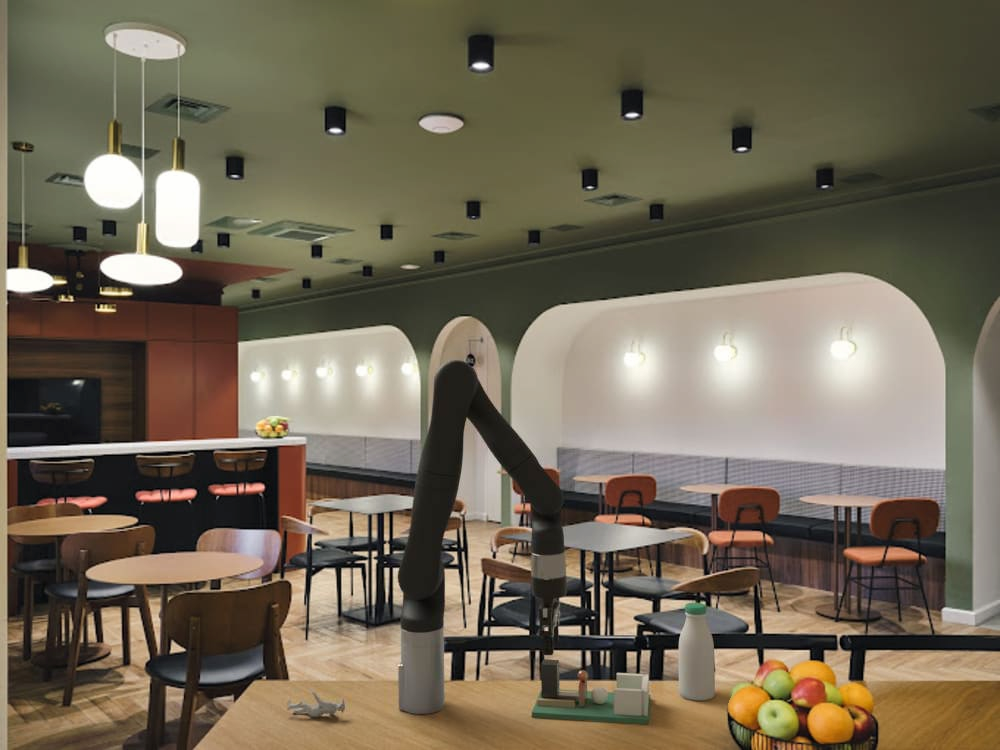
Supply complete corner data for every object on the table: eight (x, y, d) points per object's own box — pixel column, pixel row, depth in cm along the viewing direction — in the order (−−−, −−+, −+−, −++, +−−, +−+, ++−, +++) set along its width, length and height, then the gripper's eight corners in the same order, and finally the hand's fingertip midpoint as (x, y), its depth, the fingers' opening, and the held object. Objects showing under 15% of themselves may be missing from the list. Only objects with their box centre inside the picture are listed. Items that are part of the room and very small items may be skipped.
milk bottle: (715, 702, 188) (714, 610, 188) (679, 700, 190) (677, 608, 190) (714, 690, 196) (712, 600, 196) (679, 688, 197) (677, 599, 197)
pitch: (531, 717, 181) (531, 706, 181) (541, 692, 195) (541, 683, 195) (648, 724, 177) (648, 713, 177) (650, 699, 191) (650, 689, 191)
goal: (614, 714, 180) (613, 689, 180) (617, 695, 190) (616, 672, 190) (647, 716, 179) (647, 691, 179) (648, 697, 189) (648, 674, 189)
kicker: (540, 704, 185) (540, 666, 185) (544, 693, 191) (544, 657, 191) (586, 706, 183) (586, 668, 183) (589, 696, 189) (589, 659, 189)
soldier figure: (300, 712, 189) (351, 696, 187) (299, 734, 185) (352, 717, 184) (283, 696, 183) (335, 680, 182) (282, 718, 180) (336, 701, 179)
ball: (590, 706, 184) (590, 689, 184) (591, 700, 188) (591, 683, 188) (607, 707, 184) (607, 690, 184) (608, 701, 187) (608, 684, 187)
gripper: (536, 565, 195) (538, 638, 195) (526, 580, 181) (528, 658, 181) (569, 566, 194) (572, 639, 194) (561, 581, 180) (564, 659, 180)
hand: (551, 648), depth 188 cm, fingers open, 8 cm apart
